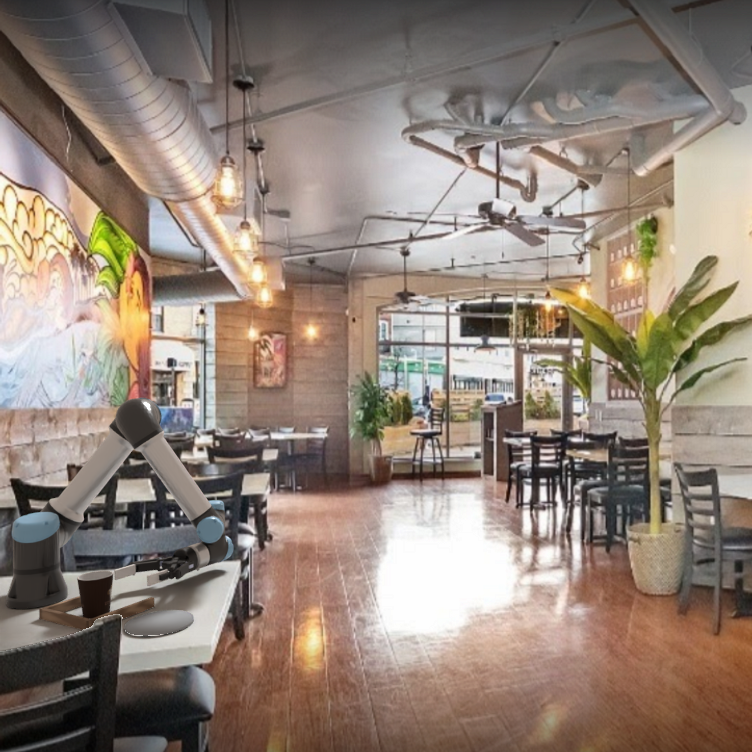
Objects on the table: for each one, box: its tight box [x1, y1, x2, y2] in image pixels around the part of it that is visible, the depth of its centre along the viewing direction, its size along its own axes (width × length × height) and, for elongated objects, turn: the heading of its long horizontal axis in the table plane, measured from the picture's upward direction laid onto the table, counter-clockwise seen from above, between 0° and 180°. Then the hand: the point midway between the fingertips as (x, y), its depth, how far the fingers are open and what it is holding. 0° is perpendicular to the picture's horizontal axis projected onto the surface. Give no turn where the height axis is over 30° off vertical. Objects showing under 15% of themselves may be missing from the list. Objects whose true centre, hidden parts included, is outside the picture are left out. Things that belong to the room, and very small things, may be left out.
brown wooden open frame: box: [38, 595, 156, 631], centre depth 166 cm, size 19×20×2 cm
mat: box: [123, 609, 195, 636], centre depth 156 cm, size 16×16×1 cm
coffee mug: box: [76, 570, 114, 619], centre depth 166 cm, size 12×9×10 cm
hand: (131, 578), depth 175 cm, fingers open, 13 cm apart
